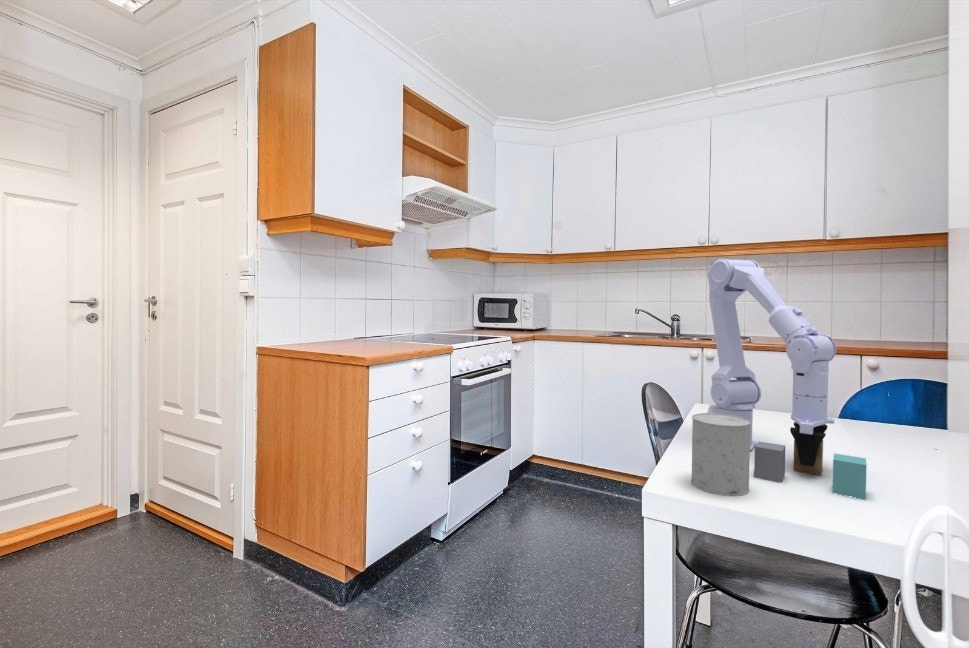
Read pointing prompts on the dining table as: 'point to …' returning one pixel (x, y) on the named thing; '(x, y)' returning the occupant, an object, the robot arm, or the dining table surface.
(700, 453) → the grey concrete cylinder
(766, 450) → the charcoal block
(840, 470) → the teal block
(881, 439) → the dining table surface
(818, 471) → the walnut block
